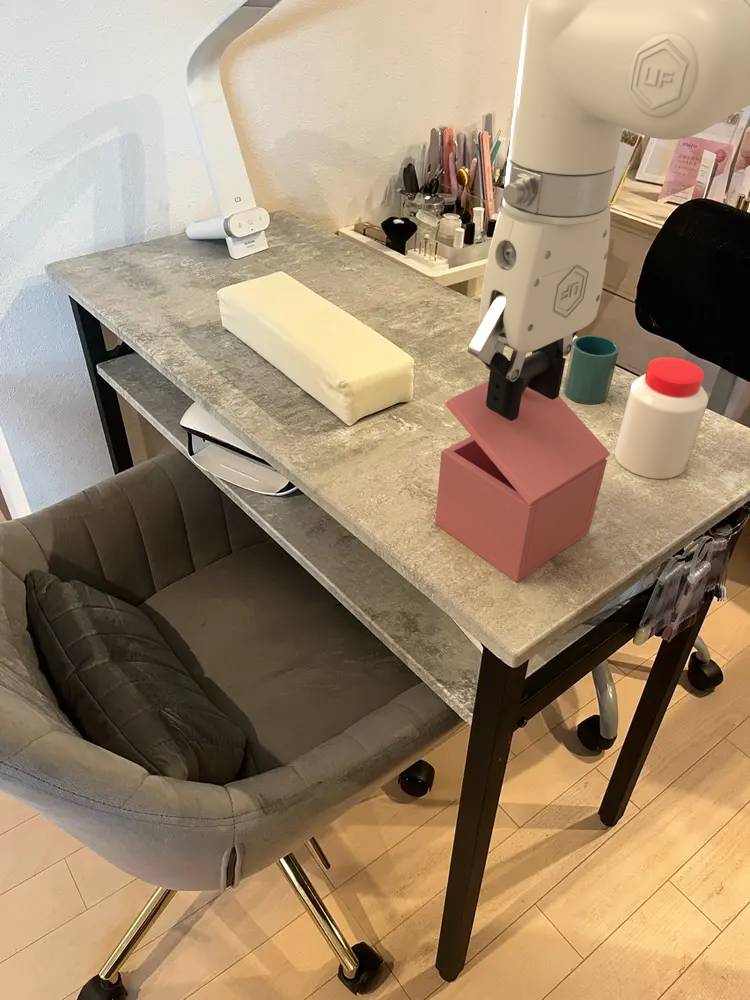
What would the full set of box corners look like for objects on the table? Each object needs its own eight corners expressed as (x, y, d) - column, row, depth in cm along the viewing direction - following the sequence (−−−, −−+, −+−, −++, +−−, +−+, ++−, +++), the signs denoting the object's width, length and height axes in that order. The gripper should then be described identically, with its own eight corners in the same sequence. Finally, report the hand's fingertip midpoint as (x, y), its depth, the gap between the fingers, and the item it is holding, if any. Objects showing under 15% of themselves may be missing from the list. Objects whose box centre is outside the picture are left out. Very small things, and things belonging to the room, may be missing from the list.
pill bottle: (600, 456, 85) (621, 367, 78) (638, 430, 89) (662, 344, 82) (662, 488, 80) (690, 398, 73) (700, 459, 84) (730, 371, 77)
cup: (610, 386, 96) (621, 339, 92) (605, 407, 92) (616, 359, 88) (566, 378, 98) (576, 332, 94) (560, 399, 94) (569, 351, 90)
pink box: (434, 523, 75) (441, 450, 70) (507, 481, 81) (518, 410, 75) (516, 582, 69) (530, 507, 64) (588, 533, 75) (607, 459, 69)
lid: (444, 404, 67) (469, 363, 62) (524, 366, 72) (553, 325, 68) (529, 506, 64) (561, 470, 59) (606, 458, 69) (641, 422, 65)
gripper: (518, 227, 49) (487, 458, 60) (668, 178, 58) (615, 388, 69) (436, 197, 53) (422, 418, 65) (587, 155, 62) (550, 357, 74)
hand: (522, 400), depth 67 cm, fingers closed on lid, 4 cm apart
